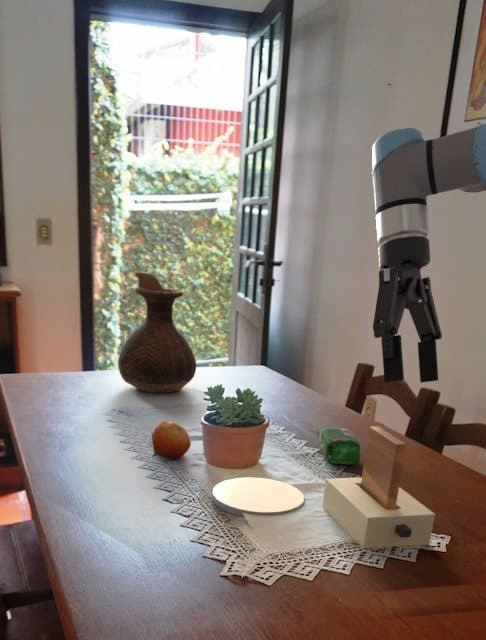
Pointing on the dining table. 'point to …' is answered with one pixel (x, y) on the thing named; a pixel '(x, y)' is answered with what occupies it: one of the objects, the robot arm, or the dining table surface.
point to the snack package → (339, 446)
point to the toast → (383, 467)
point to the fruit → (170, 441)
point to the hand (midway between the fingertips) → (412, 381)
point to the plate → (256, 496)
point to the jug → (157, 344)
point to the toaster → (377, 516)
